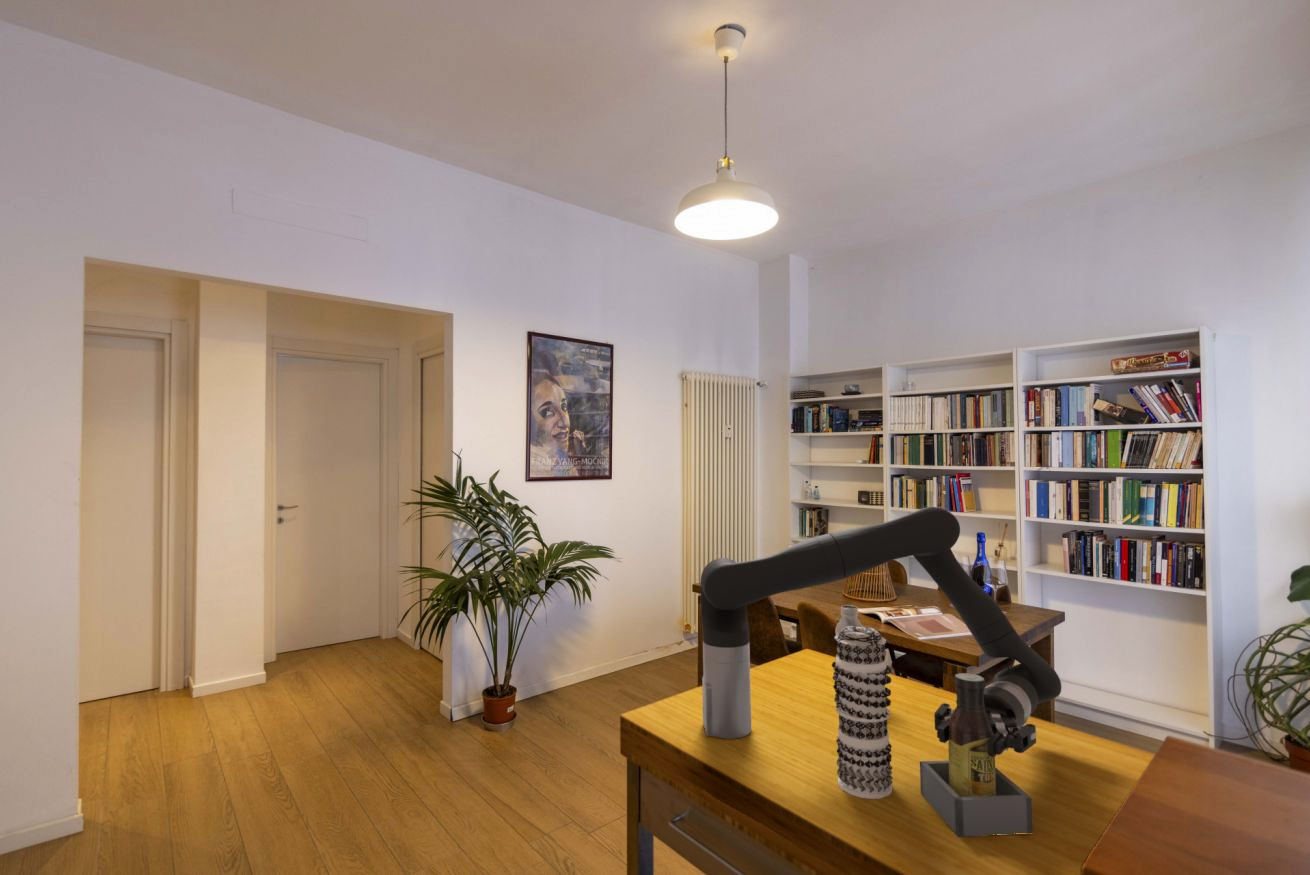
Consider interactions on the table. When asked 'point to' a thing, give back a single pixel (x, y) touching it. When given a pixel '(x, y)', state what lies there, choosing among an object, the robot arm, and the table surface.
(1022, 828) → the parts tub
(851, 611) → the plastic bottle
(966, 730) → the sauce bottle
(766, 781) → the table surface
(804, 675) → the table surface
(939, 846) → the table surface
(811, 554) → the robot arm
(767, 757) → the table surface
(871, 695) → the decorative candle
